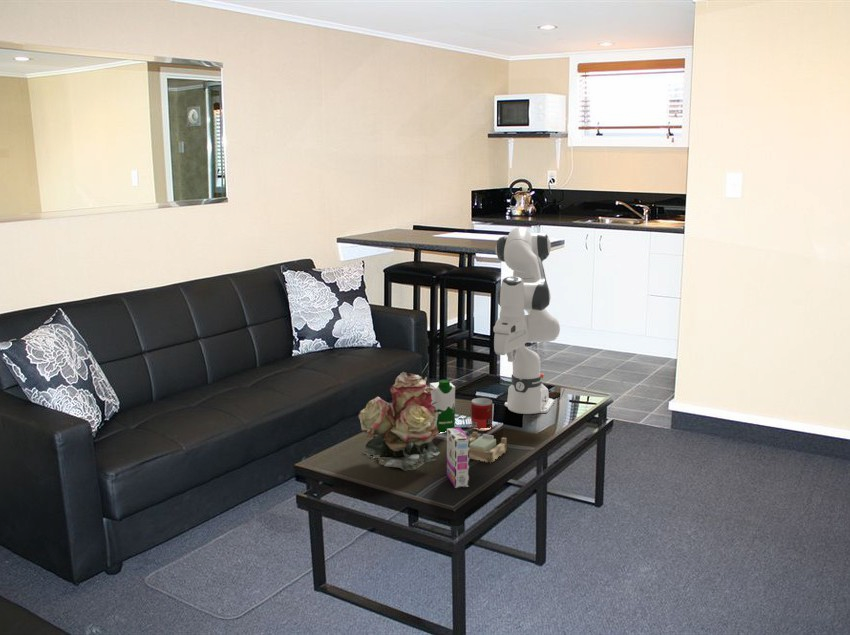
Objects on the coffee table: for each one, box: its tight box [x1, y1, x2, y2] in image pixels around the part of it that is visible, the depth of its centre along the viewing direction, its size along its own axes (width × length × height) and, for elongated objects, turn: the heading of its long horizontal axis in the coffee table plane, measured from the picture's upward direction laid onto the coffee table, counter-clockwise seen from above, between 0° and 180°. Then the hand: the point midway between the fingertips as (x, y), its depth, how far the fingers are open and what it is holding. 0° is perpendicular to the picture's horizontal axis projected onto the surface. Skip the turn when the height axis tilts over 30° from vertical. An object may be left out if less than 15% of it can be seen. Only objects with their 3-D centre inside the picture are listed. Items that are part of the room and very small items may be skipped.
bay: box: [469, 431, 508, 464], centre depth 285 cm, size 12×13×5 cm
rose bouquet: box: [357, 370, 441, 472], centre depth 281 cm, size 26×29×30 cm
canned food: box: [470, 397, 493, 428], centre depth 309 cm, size 8×8×11 cm
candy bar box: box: [446, 427, 470, 489], centre depth 261 cm, size 11×5×16 cm, turn 13°
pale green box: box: [469, 433, 497, 451], centre depth 285 cm, size 9×7×6 cm
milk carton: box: [429, 379, 456, 433], centre depth 307 cm, size 9×9×20 cm
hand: (511, 360), depth 291 cm, fingers closed
